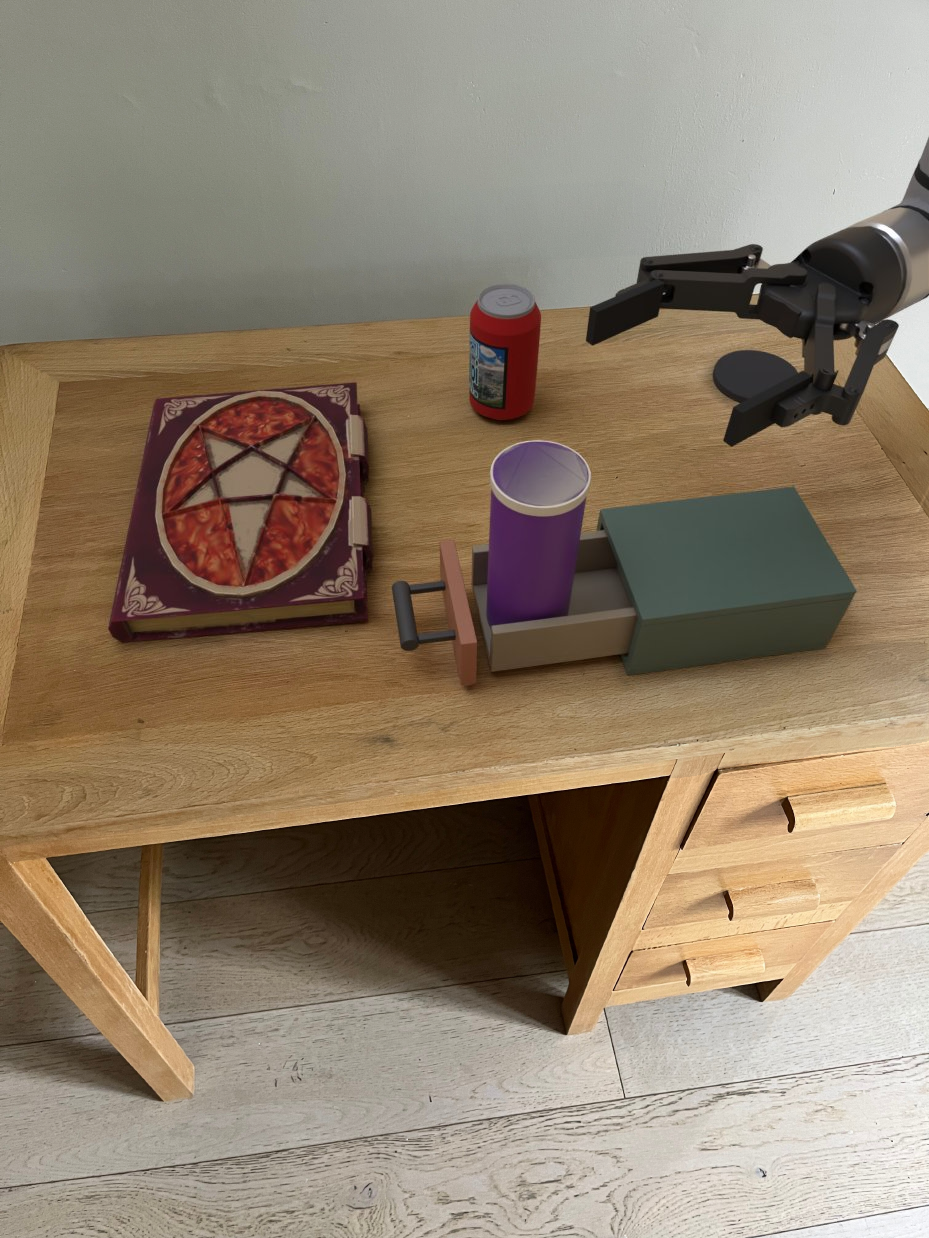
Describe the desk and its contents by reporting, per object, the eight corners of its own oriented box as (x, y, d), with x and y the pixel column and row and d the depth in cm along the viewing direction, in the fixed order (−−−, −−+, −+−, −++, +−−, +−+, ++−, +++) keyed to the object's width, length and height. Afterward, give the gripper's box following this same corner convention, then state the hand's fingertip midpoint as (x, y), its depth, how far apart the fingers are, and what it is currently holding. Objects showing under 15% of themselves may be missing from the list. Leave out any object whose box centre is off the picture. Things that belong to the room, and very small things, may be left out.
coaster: (810, 374, 92) (813, 368, 92) (779, 417, 88) (781, 411, 87) (732, 346, 95) (734, 340, 95) (698, 387, 91) (700, 380, 90)
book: (160, 425, 87) (145, 383, 83) (367, 408, 88) (362, 367, 84) (118, 647, 70) (96, 608, 66) (377, 623, 71) (371, 583, 67)
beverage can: (459, 393, 90) (458, 287, 80) (517, 379, 91) (524, 274, 82) (483, 432, 86) (486, 325, 77) (544, 416, 88) (555, 310, 78)
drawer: (406, 693, 65) (402, 652, 61) (390, 591, 72) (386, 547, 67) (655, 659, 67) (668, 616, 63) (618, 562, 74) (627, 518, 70)
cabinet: (627, 675, 67) (642, 619, 62) (589, 567, 75) (600, 508, 69) (825, 648, 69) (857, 591, 64) (770, 545, 76) (794, 486, 71)
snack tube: (583, 606, 69) (609, 464, 58) (540, 661, 66) (558, 522, 54) (513, 571, 72) (524, 427, 60) (468, 622, 68) (470, 481, 56)
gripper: (982, 400, 62) (783, 521, 54) (728, 254, 75) (537, 335, 67) (1036, 306, 56) (823, 427, 48) (751, 164, 69) (545, 242, 61)
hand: (657, 374), depth 58 cm, fingers open, 13 cm apart
